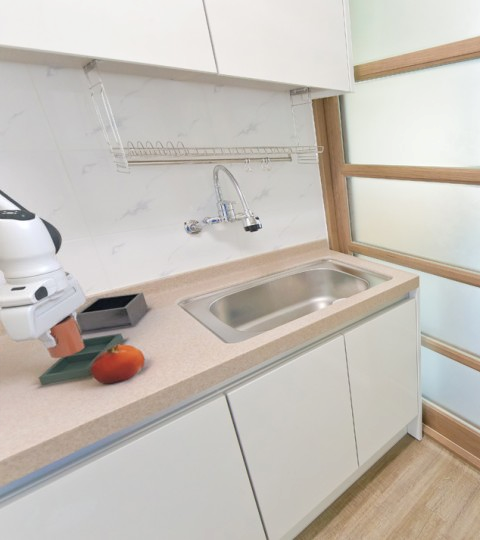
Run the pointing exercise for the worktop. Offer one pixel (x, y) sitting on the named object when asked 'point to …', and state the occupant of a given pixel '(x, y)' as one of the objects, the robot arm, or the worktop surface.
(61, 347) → the cup
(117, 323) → the basin
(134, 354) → the tomato
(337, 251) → the worktop surface
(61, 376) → the tray
